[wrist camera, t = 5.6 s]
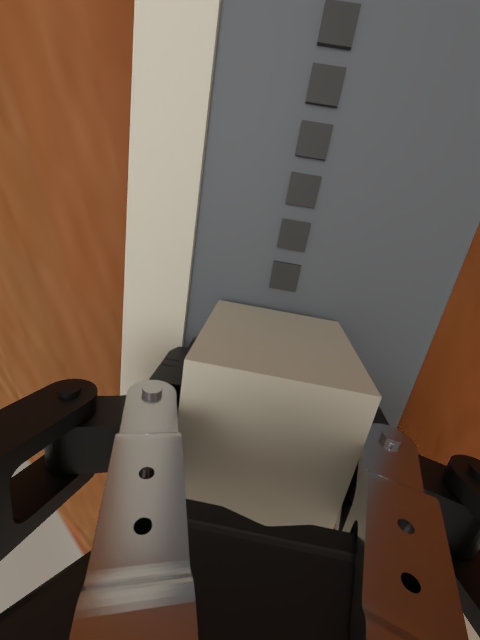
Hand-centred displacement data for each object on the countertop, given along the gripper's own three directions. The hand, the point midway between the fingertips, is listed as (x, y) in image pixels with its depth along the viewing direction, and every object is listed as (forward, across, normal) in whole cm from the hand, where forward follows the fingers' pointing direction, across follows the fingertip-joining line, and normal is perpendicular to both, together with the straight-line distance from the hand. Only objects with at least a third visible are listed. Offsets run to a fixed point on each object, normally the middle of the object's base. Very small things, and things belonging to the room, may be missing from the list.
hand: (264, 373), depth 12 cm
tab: (0, 0, 0) cm, 0 cm away
